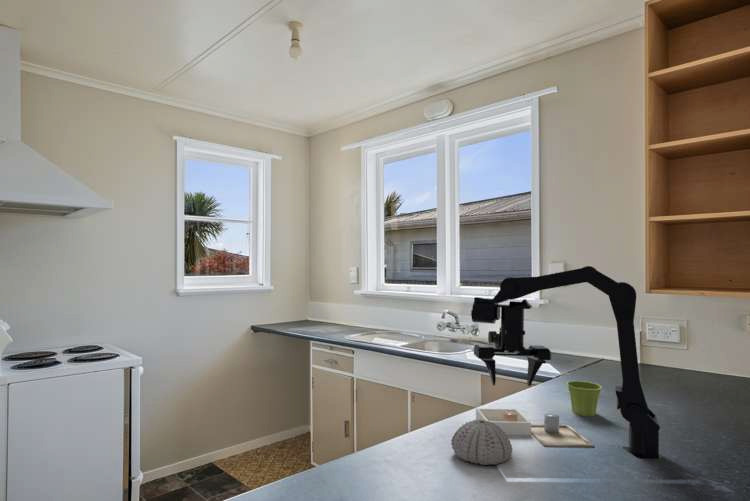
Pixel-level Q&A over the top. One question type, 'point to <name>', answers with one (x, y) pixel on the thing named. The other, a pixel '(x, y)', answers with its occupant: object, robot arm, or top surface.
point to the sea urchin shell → (481, 443)
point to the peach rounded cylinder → (510, 416)
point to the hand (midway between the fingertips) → (511, 385)
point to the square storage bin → (508, 427)
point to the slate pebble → (551, 423)
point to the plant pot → (584, 397)
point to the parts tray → (559, 437)
